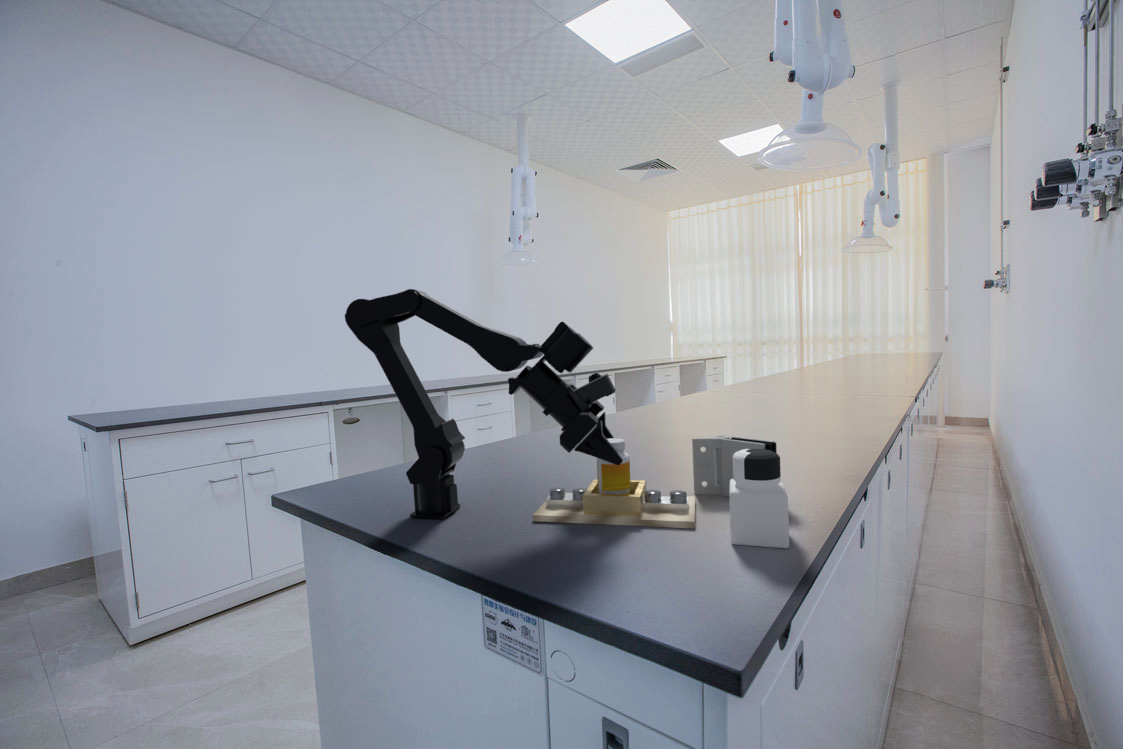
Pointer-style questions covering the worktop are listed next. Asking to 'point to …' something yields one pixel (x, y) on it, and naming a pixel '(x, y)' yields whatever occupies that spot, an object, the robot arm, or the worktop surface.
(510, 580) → the worktop surface
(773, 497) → the medicine bottle
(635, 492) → the bottle holder fixture
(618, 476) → the supplement bottle
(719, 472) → the hinge
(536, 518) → the board
